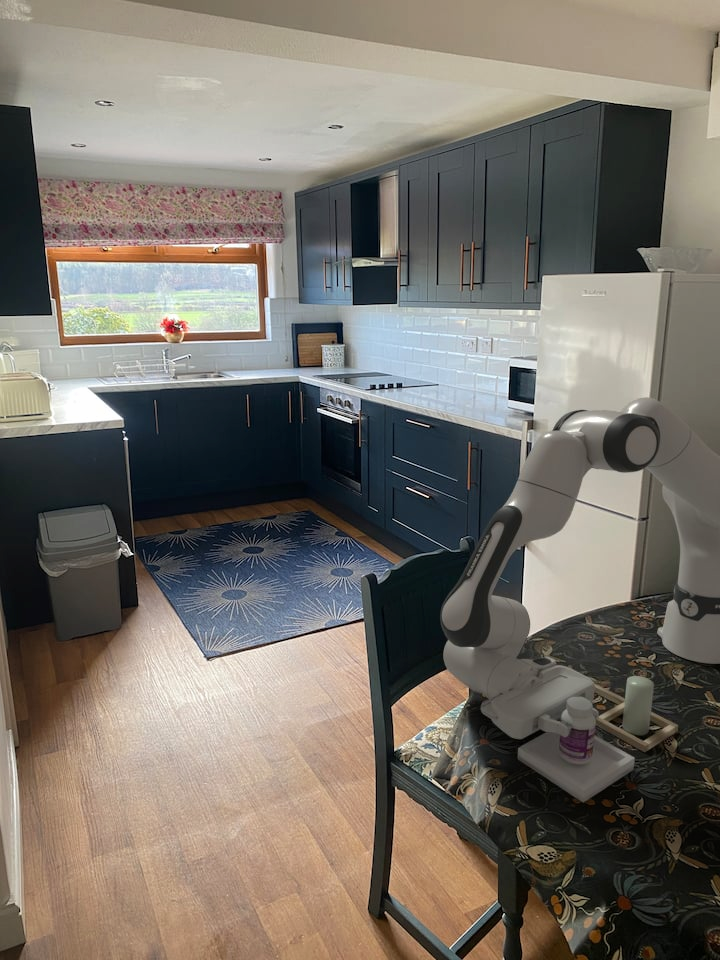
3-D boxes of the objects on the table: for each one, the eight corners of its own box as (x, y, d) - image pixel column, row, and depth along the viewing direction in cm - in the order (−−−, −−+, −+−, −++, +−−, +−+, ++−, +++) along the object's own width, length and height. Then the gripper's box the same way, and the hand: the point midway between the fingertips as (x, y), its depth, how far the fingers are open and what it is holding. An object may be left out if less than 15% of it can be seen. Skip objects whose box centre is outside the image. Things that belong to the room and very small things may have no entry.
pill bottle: (594, 768, 113) (599, 714, 111) (559, 763, 114) (563, 710, 112) (590, 747, 118) (595, 695, 116) (557, 743, 119) (561, 692, 117)
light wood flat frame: (586, 685, 140) (587, 679, 140) (677, 731, 125) (678, 725, 125) (553, 702, 134) (554, 696, 134) (644, 752, 120) (645, 746, 119)
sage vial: (631, 717, 129) (636, 673, 127) (653, 729, 126) (659, 683, 124) (617, 726, 127) (621, 681, 125) (639, 738, 123) (644, 692, 121)
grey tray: (567, 731, 125) (568, 720, 125) (633, 769, 115) (634, 757, 115) (517, 759, 118) (518, 747, 117) (583, 802, 108) (584, 790, 107)
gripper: (475, 690, 118) (541, 730, 107) (555, 653, 130) (622, 686, 119) (474, 723, 120) (538, 766, 109) (553, 684, 131) (618, 719, 121)
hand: (583, 724), depth 114 cm, fingers closed on pill bottle, 5 cm apart
